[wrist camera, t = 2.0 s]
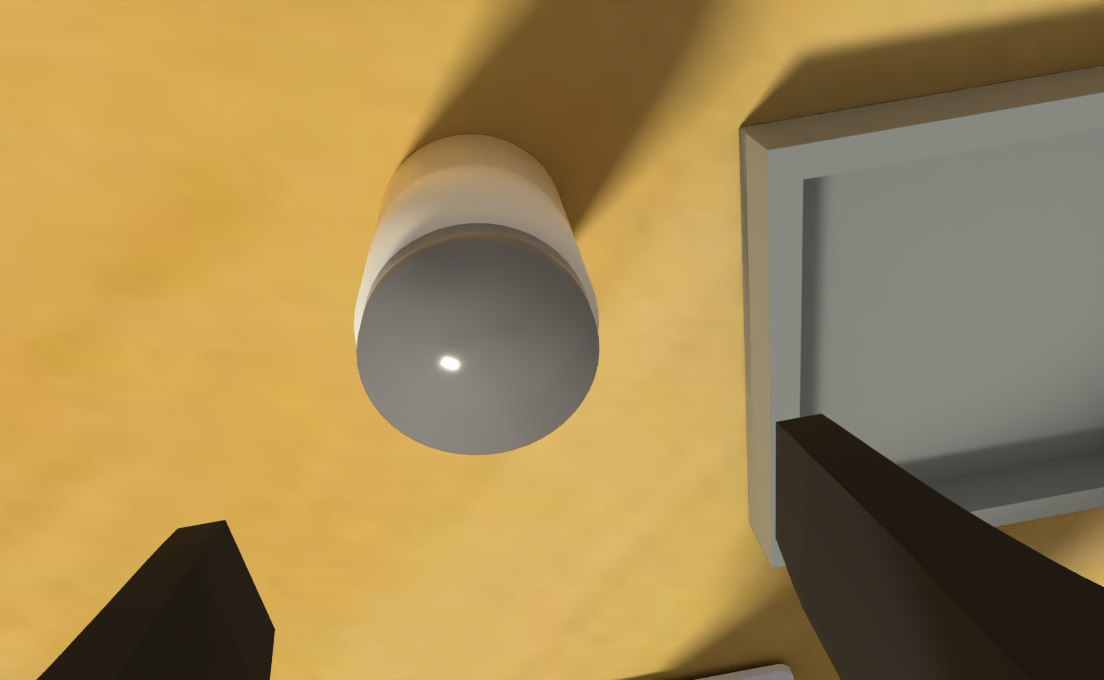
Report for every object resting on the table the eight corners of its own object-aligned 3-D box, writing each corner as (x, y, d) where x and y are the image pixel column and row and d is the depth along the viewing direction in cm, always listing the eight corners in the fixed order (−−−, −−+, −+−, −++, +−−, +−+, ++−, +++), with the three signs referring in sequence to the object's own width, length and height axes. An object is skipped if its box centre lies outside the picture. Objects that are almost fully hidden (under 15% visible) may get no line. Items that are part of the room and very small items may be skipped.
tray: (1134, 451, 25) (1183, 492, 24) (749, 522, 25) (771, 568, 23) (1247, 41, 19) (1325, 54, 18) (739, 127, 19) (767, 150, 17)
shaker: (574, 291, 21) (619, 438, 15) (403, 321, 21) (383, 480, 15) (549, 119, 18) (591, 213, 13) (358, 151, 18) (315, 262, 13)
